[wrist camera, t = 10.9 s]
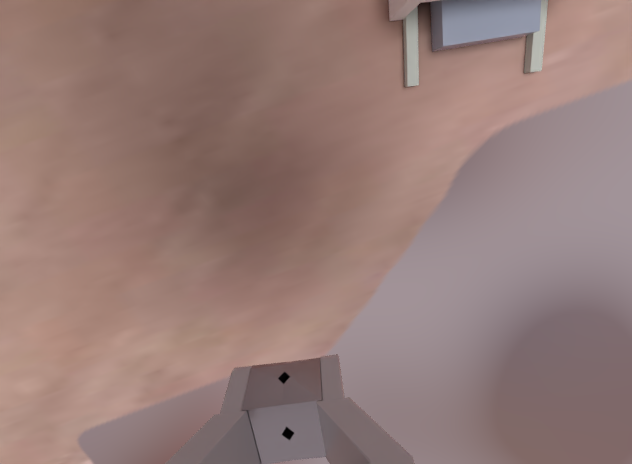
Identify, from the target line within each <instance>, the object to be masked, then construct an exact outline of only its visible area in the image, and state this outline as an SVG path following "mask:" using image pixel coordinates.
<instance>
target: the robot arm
mask: <svg viewBox="0 0 632 464" xmlns="http://www.w3.org/2000/svg"><path fill="white" fill-rule="evenodd" d="M320 457H326V458H327V460H328V462H329V463H330V464H415V463H414V460H413V457H412V456H411V455H410V454H409V453H408V452H407V451H406V450H405V449H404V448H403V447H402V446H401V445H400V444H399V443H398V442H396V441H395V440H394V439H393V438H392V437H391V436H390V435H389V434H388V433H387V432H386V431H385V430H384V429H383V428H382V427H380V426H379V425H378V424H377V423H376V422H375V421H374V420H373V419H372V418H371V417H370V416H369V415H368V414H367V413H366V412H365V411H363V410H362V409H361V408H360V407H359V406H358V405H357V404H356V403H355V402H354V401H353V400H352V399H351V398H344V391H343V384H342V376H341V369H340V362H339V356H338V355H337V354H336V355H330V356H323V357H321V358H313V359H306V360H299V361H291V362H282V363H273V364H263V365H254V366H247V367H239V368H234V370H233V371H232V373H231V376H230V380H229V383H228V387H227V391H226V394H225V398H224V401H223V404H222V408H221V412H220V414H217V415H214V416H213V417H212V418H211V419H210V420H209V421H208V422H207V423H206V424H205V425H204V426H203V427H202V428H201V429H200V430H199V431H198V432H197V433H196V434H195V435H194V436H193V437H192V438H191V439H190V440H189V441H188V442H187V443H185V445H184V446H183V447H181V449H180V450H178V452H176V454H174V455H173V456H172V457H171V458H170V460H168V461H167V462H166V463H165V464H271V463H277V462H283V461H290V460H298V459H309V458H320Z"/></svg>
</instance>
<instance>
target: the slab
mask: <svg viewBox="0 0 632 464" xmlns="http://www.w3.org/2000/svg"><path fill="white" fill-rule="evenodd" d="M430 5H431V32H432V52H433V51H439V50H446V49H452V48H458V47H464V46H470V45H477V44H483V43H489V42H495V41H502V40H508V39H514V38H520V37H524V36H527V35H529V34H532V33H535V32H538V31H540V14H541V0H440V1H432V2H430Z"/></svg>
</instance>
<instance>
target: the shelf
mask: <svg viewBox="0 0 632 464" xmlns="http://www.w3.org/2000/svg"><path fill="white" fill-rule="evenodd" d="M432 1H440V0H389V21H396V20H403V37H404V77H405V87H410V86H417V85H419V64H418V5H419V4H420V3H423V2H432ZM547 6H548V0H541V14H540V31H538V32H535V33H532V34H529V35H527V39H526V52H525V65H524V73H530V72H537V71H542V61H543V50H544V39H545V28H546V17H547Z"/></svg>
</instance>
